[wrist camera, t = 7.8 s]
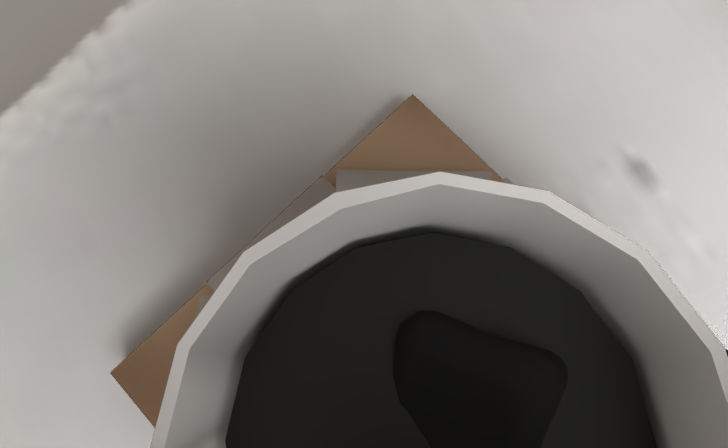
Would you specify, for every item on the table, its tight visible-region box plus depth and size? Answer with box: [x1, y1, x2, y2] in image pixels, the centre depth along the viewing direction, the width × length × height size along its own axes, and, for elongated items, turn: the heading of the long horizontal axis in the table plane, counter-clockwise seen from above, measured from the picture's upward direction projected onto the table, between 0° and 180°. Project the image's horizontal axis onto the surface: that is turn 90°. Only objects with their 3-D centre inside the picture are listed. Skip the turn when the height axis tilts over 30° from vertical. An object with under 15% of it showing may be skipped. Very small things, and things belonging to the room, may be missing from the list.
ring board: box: [110, 94, 514, 428], centre depth 17 cm, size 13×13×2 cm
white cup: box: [150, 172, 728, 448], centre depth 11 cm, size 7×7×10 cm
